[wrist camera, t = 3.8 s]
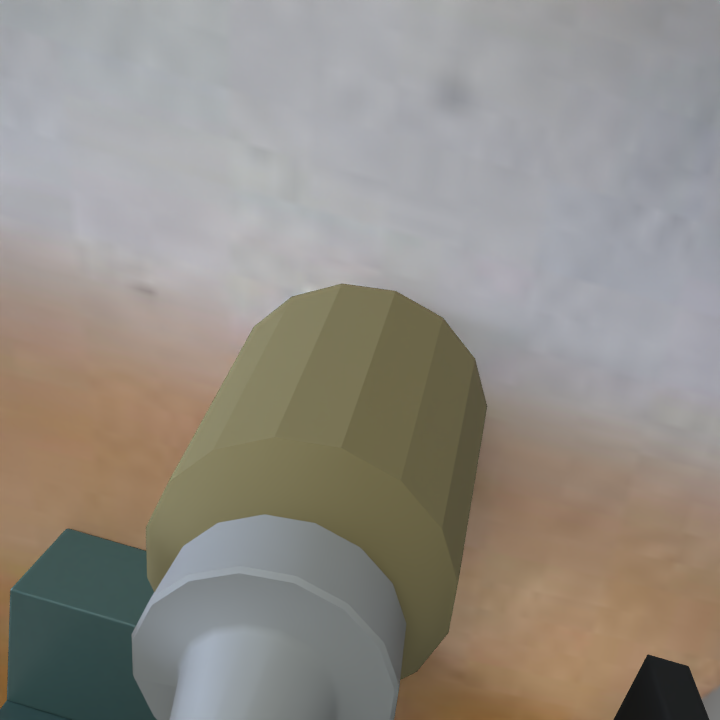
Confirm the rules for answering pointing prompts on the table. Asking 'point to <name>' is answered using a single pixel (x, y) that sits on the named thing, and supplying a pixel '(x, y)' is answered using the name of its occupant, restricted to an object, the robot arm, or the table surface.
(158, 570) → the squeeze bottle
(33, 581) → the dark green stepped block
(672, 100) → the table surface
